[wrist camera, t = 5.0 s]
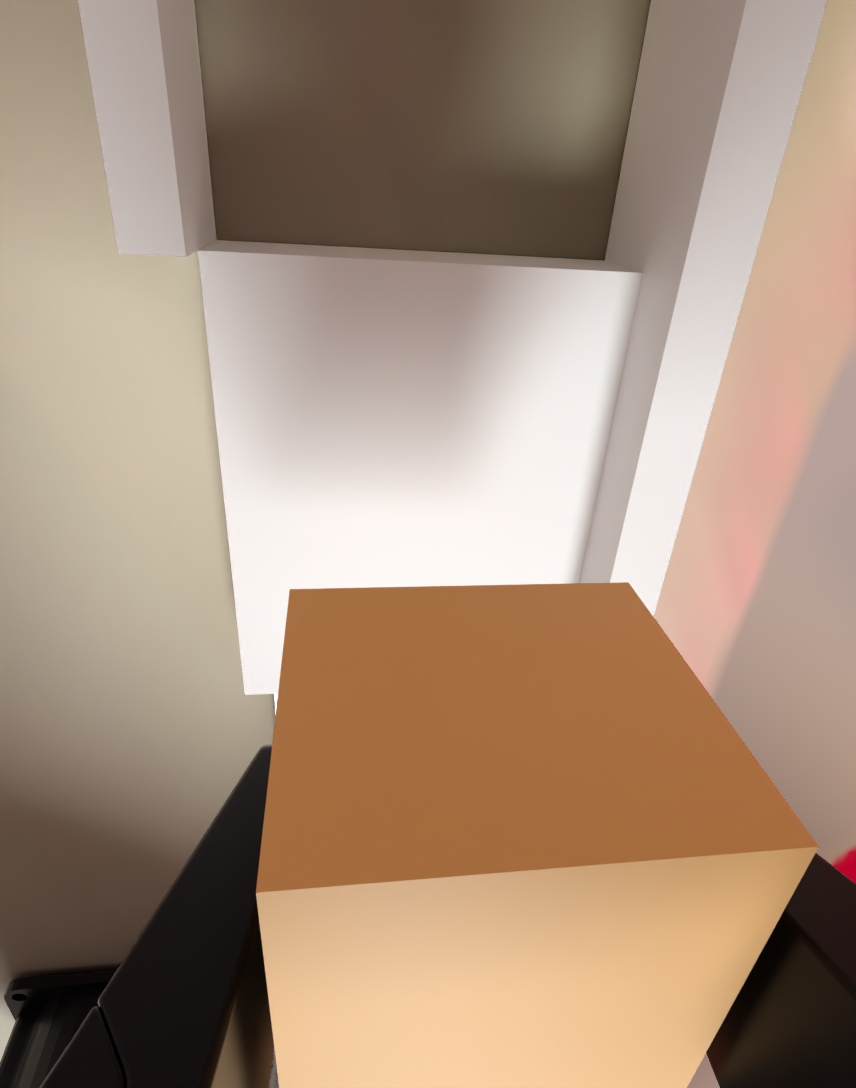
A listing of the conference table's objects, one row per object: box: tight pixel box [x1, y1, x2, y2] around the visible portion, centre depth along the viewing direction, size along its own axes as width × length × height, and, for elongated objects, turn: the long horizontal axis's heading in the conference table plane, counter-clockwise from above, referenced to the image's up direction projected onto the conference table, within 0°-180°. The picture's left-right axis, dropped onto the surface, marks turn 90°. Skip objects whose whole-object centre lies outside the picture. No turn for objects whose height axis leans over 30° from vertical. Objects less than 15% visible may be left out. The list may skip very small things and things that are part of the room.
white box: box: [78, 0, 828, 695], centre depth 12 cm, size 10×18×4 cm, turn 176°
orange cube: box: [256, 582, 819, 1088], centre depth 8 cm, size 4×4×4 cm
